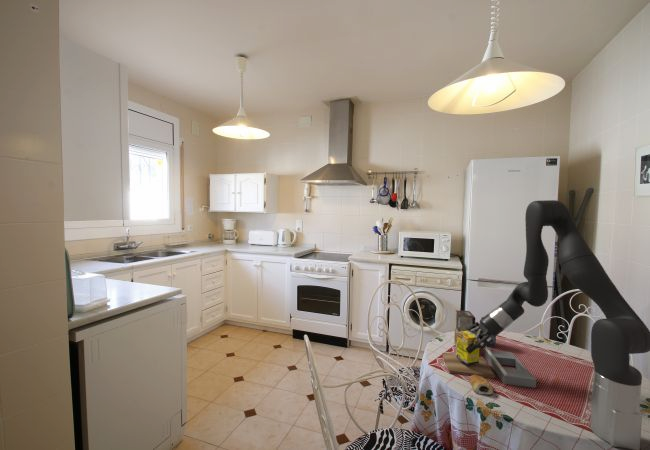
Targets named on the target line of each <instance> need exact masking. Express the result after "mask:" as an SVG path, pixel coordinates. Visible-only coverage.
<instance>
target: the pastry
mask: <svg viewBox="0 0 650 450" xmlns="http://www.w3.org/2000/svg"><path fill="white" fill-rule="evenodd" d="M469 384H470V386H471V389H472V391H473V392H474V393H475V394H480V395H492V394H493V393H494V389H493V385H492V384H491V383H490V381H489V380H487V379H486V377H481V376H479V375H472V376H471V375H470V378H469Z"/></svg>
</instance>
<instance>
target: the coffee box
mask: <svg viewBox="0 0 650 450" xmlns="http://www.w3.org/2000/svg"><path fill="white" fill-rule="evenodd" d="M475 323H476V317H475V315H474V314H473V313H472V312H471V311H470V310H458V309H456V310H455V316H454V345H455V347H456V348H457V332H462V331H466V330H467V329H468V328H469V327H471V326H472V325H473V324H475ZM470 331H471V330H470Z"/></svg>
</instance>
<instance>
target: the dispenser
mask: <svg viewBox="0 0 650 450" xmlns="http://www.w3.org/2000/svg"><path fill="white" fill-rule="evenodd" d="M484 358H485V359H486V362H488V363H489V364H490V367H491V368H492V369H493V372H494V373H496V376H498V377H499V379H500V380H501V382H502V383H503V385H509V386H510V385H512V386H518V387H527V388H534V389H535V388H536V387H537V379H536V377H535V376H534V375H533V374H532V373H531V372H530V371H529V370H528V369H527V368H526V367H525V365H524V364H523V363H522V362H521V361H520V360H519V359H518V358H517V357H516V356H515V354H514V353H513V352H511V351H502V350H500V351H499V350H491V349H489V347H487V346H486V347H485V348H484ZM503 366H507V367H508V368H506V367H503ZM509 367H515V368H509ZM536 389H537V388H536Z"/></svg>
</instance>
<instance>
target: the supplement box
mask: <svg viewBox="0 0 650 450" xmlns="http://www.w3.org/2000/svg"><path fill="white" fill-rule="evenodd" d="M474 340H475V334H474V333H472V332H470V331H462V332H457V347H456V358H458V359H459V360H461V361H462V362H464V363H465V364H466V365H471V364H476V363H479V357H480V348H479V349H478V348H477V349H475V350H474V351H473V352H472V353H468V352H467V351H466V348H467V347H468V346H469V345H470V344H472V343H473V342H474Z"/></svg>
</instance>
